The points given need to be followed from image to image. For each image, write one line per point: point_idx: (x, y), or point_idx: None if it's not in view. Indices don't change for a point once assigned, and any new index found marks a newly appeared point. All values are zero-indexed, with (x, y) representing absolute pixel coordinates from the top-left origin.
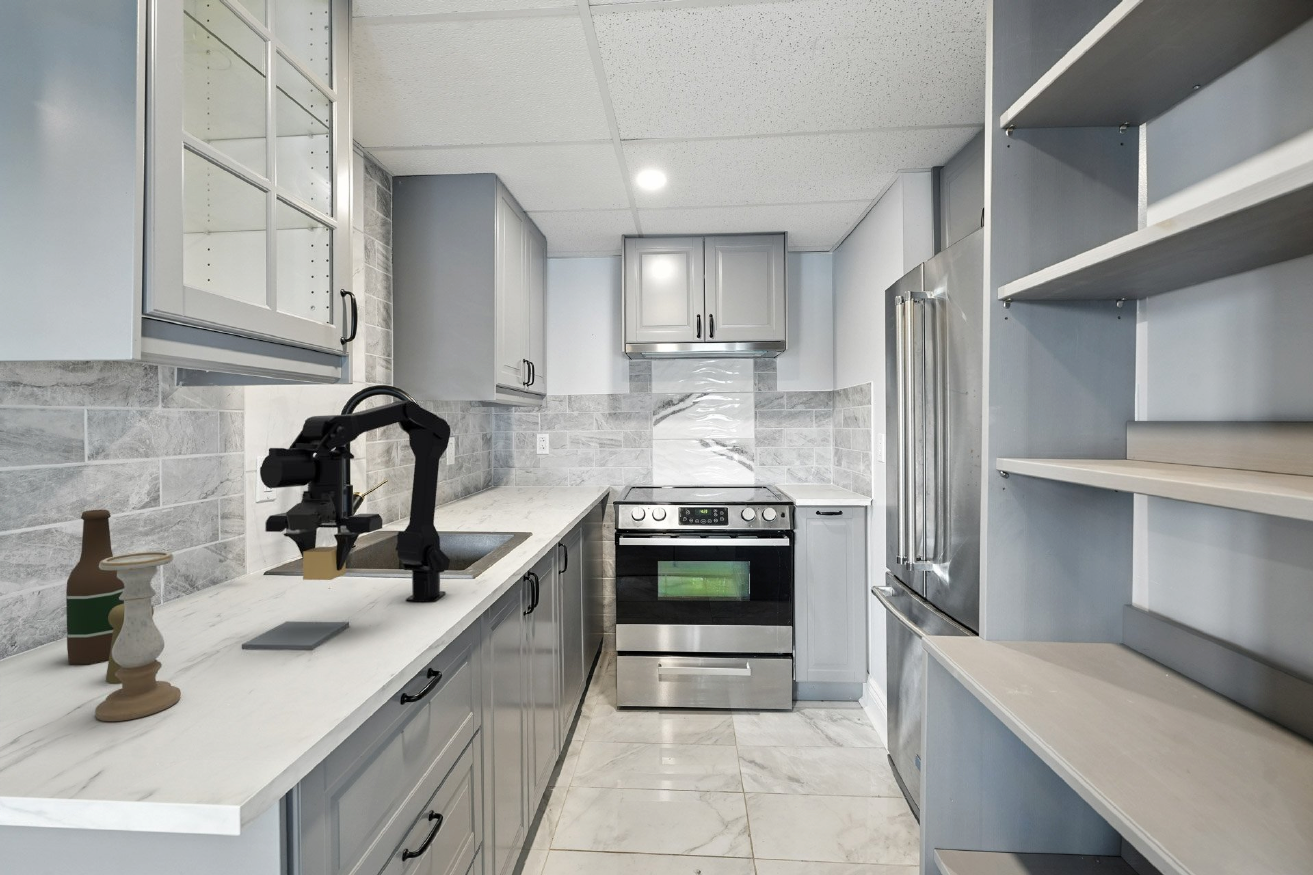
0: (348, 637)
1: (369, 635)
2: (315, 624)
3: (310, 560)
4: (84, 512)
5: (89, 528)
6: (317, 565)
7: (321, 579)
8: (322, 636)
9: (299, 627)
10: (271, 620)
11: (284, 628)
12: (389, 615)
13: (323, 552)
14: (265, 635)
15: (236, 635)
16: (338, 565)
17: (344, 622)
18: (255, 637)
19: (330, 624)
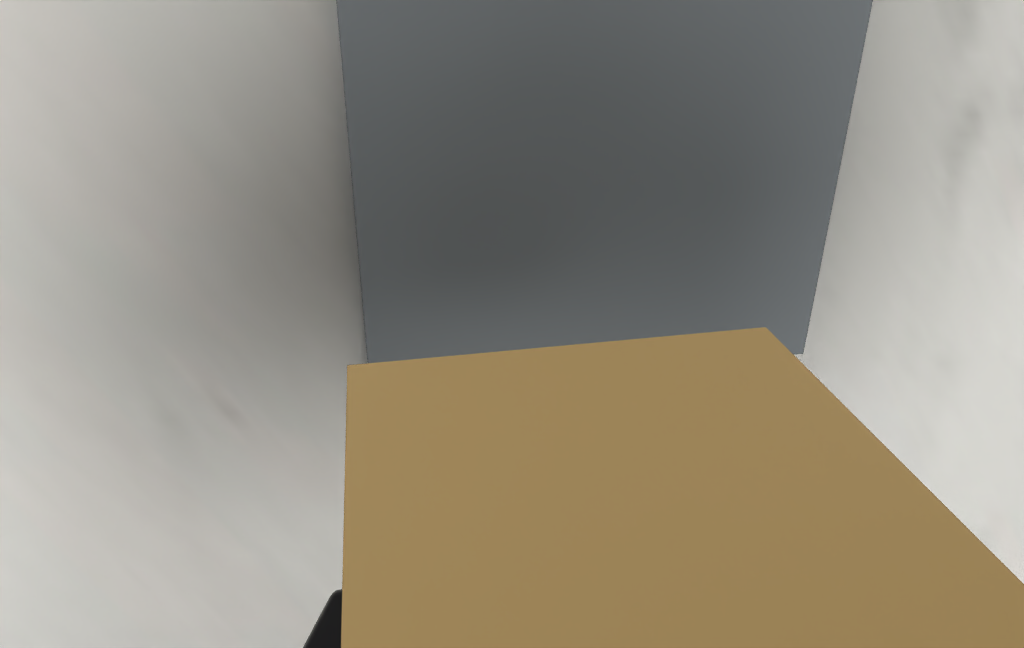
0: (214, 160)
1: (71, 215)
2: (582, 321)
3: (810, 537)
4: None
5: None
6: (627, 487)
7: (498, 356)
8: (370, 71)
9: (660, 253)
10: (914, 411)
11: (752, 224)
12: (229, 587)
13: None
14: (815, 71)
15: (1014, 145)
16: (327, 644)
17: None
18: (865, 24)
19: (475, 331)
